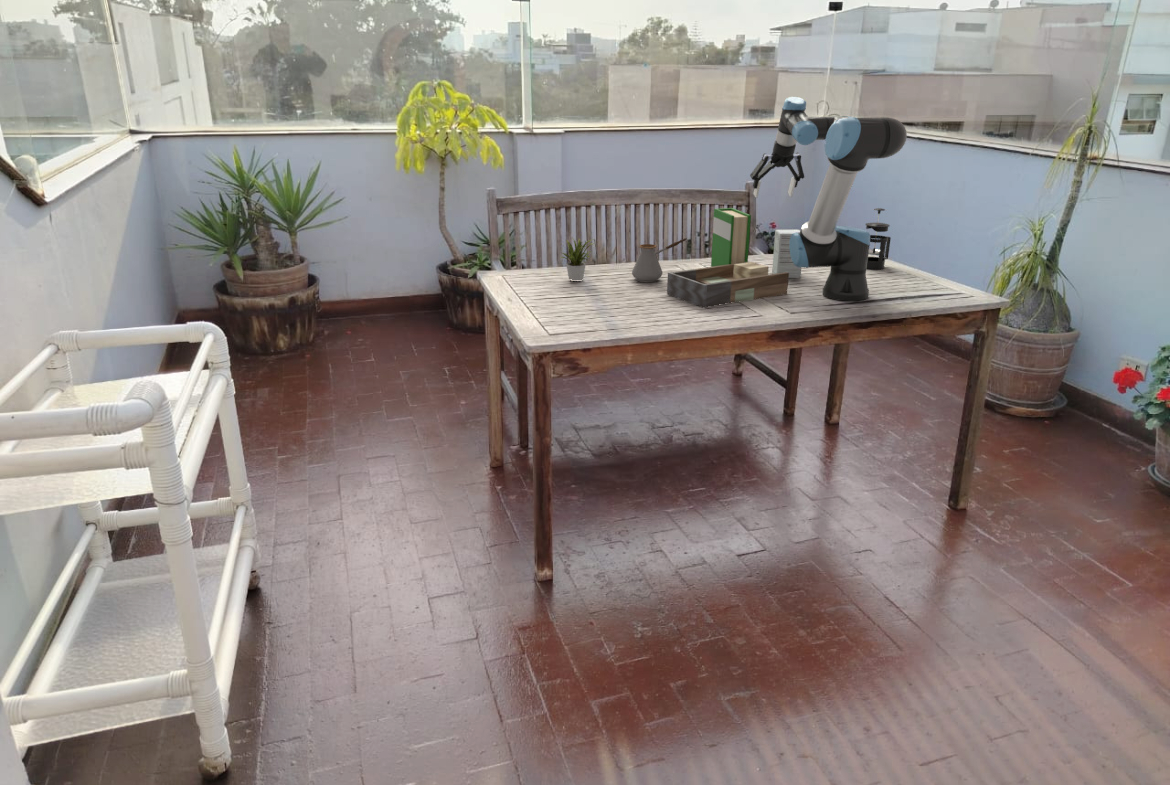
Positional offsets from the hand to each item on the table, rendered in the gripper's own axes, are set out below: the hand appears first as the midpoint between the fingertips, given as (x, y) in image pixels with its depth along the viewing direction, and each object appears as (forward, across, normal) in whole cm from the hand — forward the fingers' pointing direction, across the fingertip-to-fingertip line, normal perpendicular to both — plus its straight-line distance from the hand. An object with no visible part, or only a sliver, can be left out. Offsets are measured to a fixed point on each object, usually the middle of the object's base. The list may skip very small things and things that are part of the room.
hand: (772, 195), depth 299 cm
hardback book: (+26, +17, +14) cm, 34 cm away
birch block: (+13, +17, +34) cm, 40 cm away
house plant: (+27, +74, +12) cm, 79 cm away
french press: (+27, -45, +11) cm, 54 cm away
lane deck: (+16, +26, +39) cm, 49 cm away
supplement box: (+24, -5, +18) cm, 31 cm away
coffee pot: (+26, +44, +15) cm, 53 cm away
